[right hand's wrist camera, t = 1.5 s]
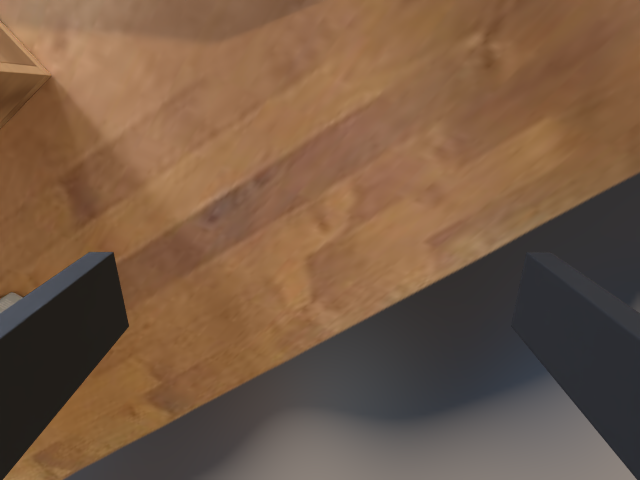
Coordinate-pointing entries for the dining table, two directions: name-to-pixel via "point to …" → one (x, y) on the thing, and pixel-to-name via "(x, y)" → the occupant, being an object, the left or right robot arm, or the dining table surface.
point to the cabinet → (17, 74)
